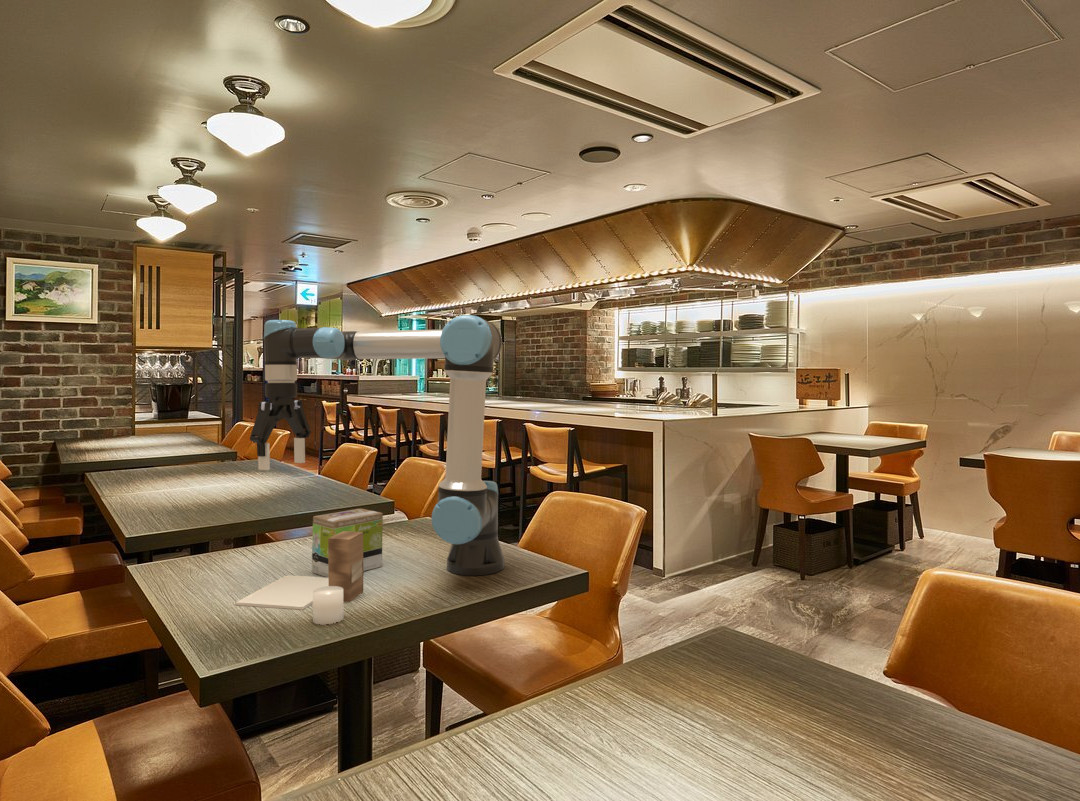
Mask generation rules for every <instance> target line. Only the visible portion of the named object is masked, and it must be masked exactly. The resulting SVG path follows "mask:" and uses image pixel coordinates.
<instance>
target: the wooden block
mask: <svg viewBox="0 0 1080 801" xmlns="http://www.w3.org/2000/svg"><path fill="white" fill-rule="evenodd" d="M328 570H329V586H339V587H342V588H343V603H351V602H352V601H353V600H354V599H356V598H357V597H358V596H360V595H361V594H362V593H364V571H363V532H348V531H343V532H340V533H338V534H336V535H334V536H332V537H330V538H328Z"/></svg>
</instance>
